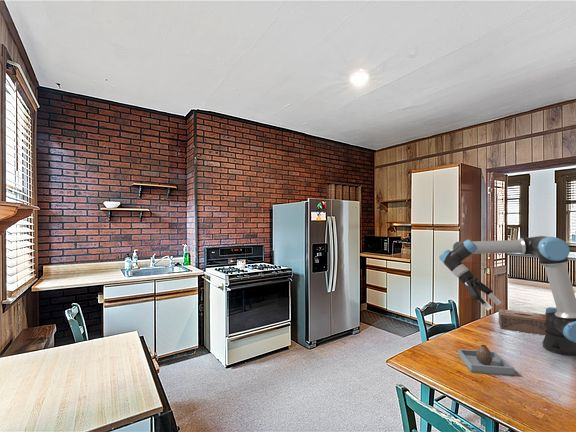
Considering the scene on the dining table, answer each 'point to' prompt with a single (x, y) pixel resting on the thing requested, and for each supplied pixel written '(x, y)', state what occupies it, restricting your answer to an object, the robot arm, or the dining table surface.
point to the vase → (484, 355)
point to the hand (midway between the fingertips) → (495, 306)
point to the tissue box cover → (522, 321)
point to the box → (495, 367)
